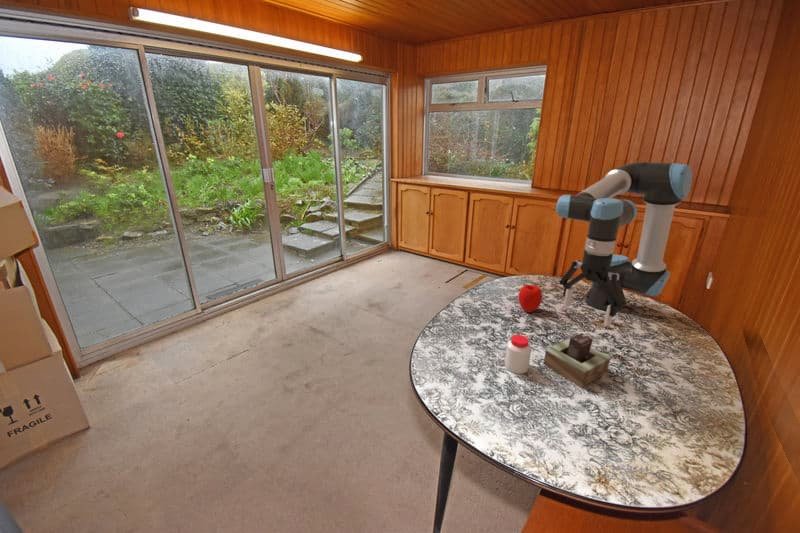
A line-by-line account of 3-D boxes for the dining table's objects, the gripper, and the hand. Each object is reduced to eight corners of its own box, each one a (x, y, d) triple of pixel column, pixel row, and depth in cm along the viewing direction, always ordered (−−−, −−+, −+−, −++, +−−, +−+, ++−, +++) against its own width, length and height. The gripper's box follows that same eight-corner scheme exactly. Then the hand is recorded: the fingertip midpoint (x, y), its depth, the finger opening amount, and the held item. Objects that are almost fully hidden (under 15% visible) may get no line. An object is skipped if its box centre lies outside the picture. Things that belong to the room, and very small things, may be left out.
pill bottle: (511, 356, 124) (515, 330, 120) (532, 366, 119) (536, 338, 115) (500, 366, 119) (503, 339, 115) (521, 377, 114) (525, 348, 110)
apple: (530, 303, 162) (534, 279, 158) (545, 313, 153) (549, 288, 149) (512, 307, 159) (515, 282, 155) (526, 317, 150) (529, 291, 146)
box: (574, 374, 115) (581, 343, 110) (563, 367, 118) (569, 337, 114) (586, 369, 117) (593, 338, 113) (574, 362, 121) (581, 332, 117)
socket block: (568, 351, 127) (571, 337, 125) (606, 372, 116) (610, 357, 113) (543, 363, 120) (546, 349, 118) (581, 387, 109) (584, 371, 107)
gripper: (553, 243, 111) (545, 302, 119) (636, 267, 91) (619, 336, 99) (568, 239, 114) (559, 297, 122) (651, 261, 95) (633, 328, 102)
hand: (585, 314), depth 111 cm, fingers open, 13 cm apart
